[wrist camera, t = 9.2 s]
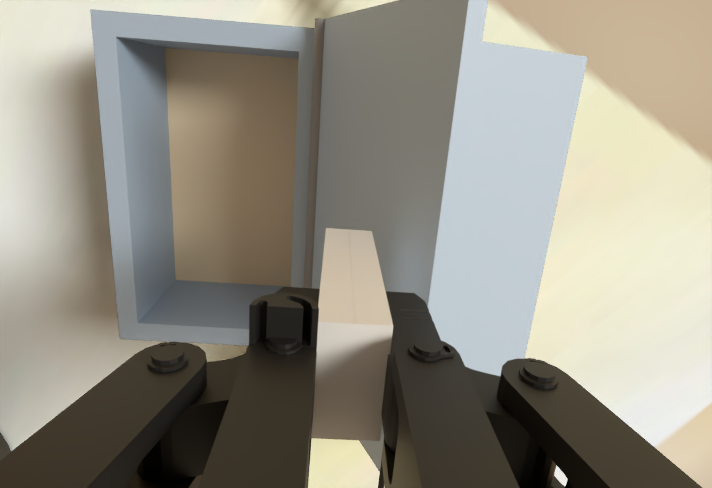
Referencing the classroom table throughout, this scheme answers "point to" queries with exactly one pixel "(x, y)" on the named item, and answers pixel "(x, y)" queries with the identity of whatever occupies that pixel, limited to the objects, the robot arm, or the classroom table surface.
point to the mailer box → (202, 168)
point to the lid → (441, 164)
